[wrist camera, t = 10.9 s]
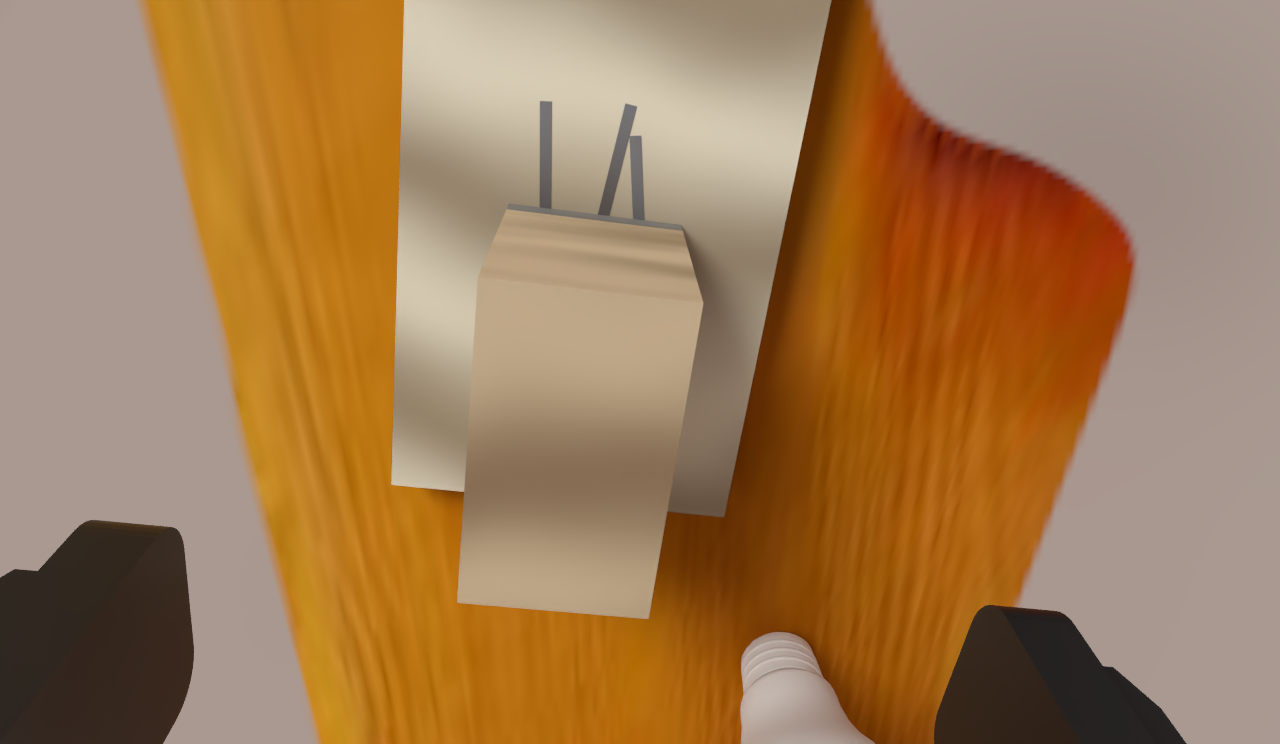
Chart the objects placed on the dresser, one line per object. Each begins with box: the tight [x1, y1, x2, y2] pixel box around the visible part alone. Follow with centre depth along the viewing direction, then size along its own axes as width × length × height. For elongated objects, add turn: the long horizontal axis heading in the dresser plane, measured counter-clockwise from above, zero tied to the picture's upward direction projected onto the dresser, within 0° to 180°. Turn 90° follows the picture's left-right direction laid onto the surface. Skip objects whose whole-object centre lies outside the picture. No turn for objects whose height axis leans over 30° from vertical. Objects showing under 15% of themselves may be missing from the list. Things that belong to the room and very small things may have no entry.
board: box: [392, 0, 831, 517], centre depth 24 cm, size 18×10×2 cm, turn 172°
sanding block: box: [457, 204, 703, 619], centre depth 22 cm, size 8×4×6 cm, turn 172°
